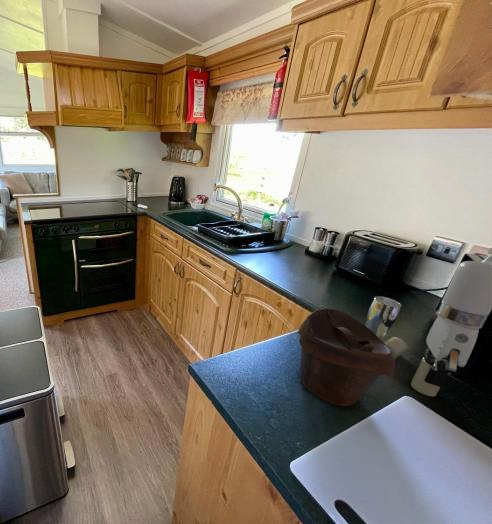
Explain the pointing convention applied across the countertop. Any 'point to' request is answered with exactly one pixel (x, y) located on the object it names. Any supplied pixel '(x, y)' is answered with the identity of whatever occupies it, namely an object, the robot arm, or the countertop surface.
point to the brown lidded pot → (341, 356)
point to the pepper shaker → (421, 374)
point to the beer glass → (382, 315)
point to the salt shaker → (396, 346)
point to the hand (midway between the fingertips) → (429, 376)
